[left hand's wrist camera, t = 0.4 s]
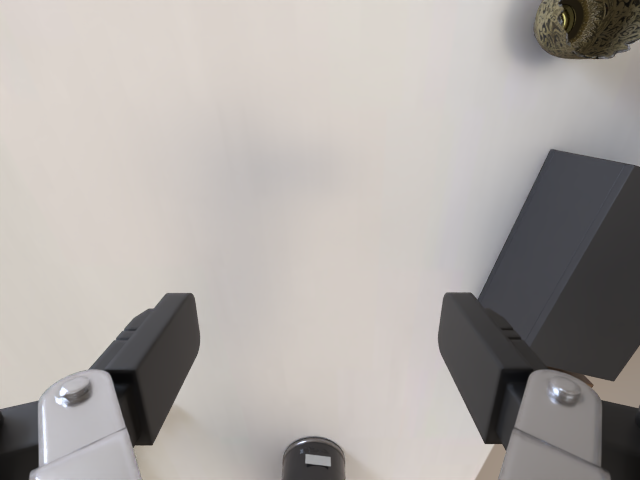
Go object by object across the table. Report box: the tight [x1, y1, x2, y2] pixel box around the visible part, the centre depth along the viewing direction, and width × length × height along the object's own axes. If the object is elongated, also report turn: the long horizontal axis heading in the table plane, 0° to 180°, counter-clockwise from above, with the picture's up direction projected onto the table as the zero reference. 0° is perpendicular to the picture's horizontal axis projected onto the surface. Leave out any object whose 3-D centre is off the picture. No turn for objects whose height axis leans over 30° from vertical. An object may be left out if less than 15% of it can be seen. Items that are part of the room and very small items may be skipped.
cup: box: [534, 0, 640, 59], centre depth 30 cm, size 8×7×8 cm
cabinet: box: [478, 149, 640, 381], centre depth 37 cm, size 20×10×11 cm, turn 165°
